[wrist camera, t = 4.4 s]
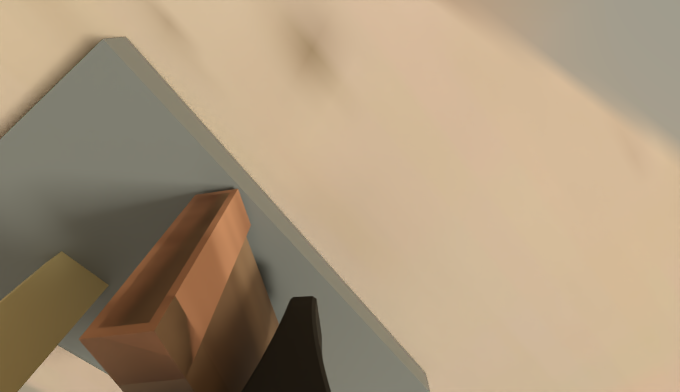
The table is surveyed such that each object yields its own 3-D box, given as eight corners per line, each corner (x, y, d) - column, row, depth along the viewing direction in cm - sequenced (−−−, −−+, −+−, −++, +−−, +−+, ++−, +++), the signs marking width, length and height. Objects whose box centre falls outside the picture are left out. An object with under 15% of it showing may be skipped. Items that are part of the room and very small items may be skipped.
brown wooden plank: (285, 402, 16) (264, 555, 11) (195, 194, 10) (78, 339, 6) (313, 399, 16) (302, 554, 11) (237, 188, 10) (154, 331, 5)
